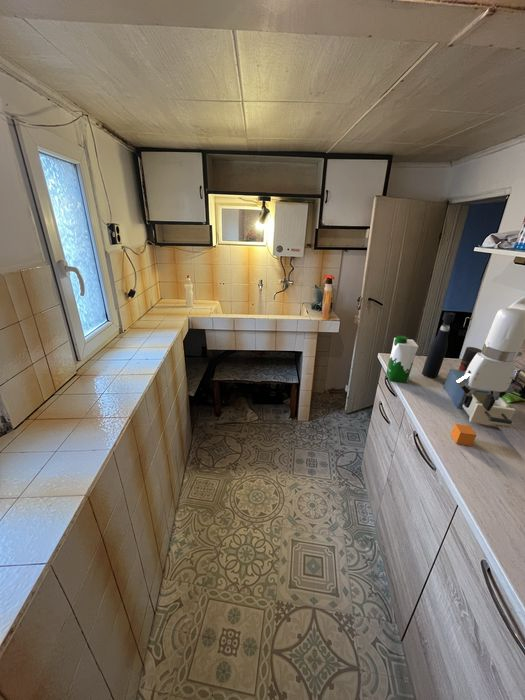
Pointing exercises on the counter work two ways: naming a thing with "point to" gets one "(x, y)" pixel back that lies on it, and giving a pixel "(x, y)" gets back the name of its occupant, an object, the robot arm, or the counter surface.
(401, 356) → the milk carton
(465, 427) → the small orange cuboid
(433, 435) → the counter surface
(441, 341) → the black water bottle
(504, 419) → the white drawer
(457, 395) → the blue drawer cabinet
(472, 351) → the deodorant
